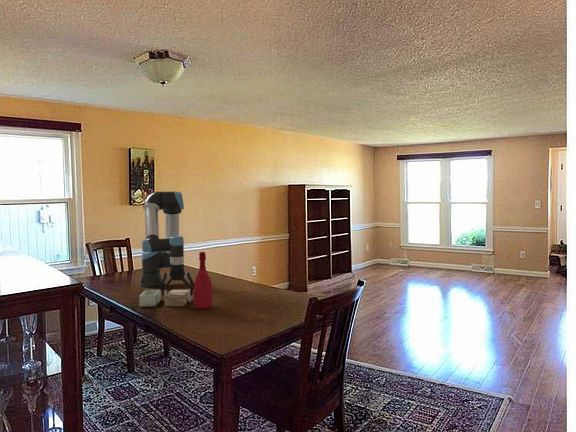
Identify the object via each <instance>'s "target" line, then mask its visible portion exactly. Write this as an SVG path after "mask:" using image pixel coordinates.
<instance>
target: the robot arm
mask: <svg viewBox="0 0 576 432" xmlns="http://www.w3.org/2000/svg"><path fill="white" fill-rule="evenodd" d="M142 206H143V207H142V210H143V212H144V219H145V220H144V224H145V228H144V229H145V235H144V237H145V239H142V240H141V244H142V245H141V246H142V247H141V250H142V254H141V275H140V279H139V286H140V287H144V288H145V287H146V288H152V287H158V290H161V297H163V302H164V303H165V295H166V294H168V292H167V289H166V288H167V287H168V286H169V285H170V284H171V283H172V281H174V282H177V281H179V282H180V281H182V282H183V283H184V284H185V285H186V287H187V288H188V290H189V301H188V302H189V303H190V302H191V301H192V296H194V282H195V281H194V280H193V277H192V276H191V272H190V271H188V272H185V253H184V250H185V249H184V245H185V244H184V243H185V241H184V237H183V236H182V235H180V214H182V211H183V210H184V209H185V207H184V206H185V205H184V198H183V194H182V192H181V191H154V192H152V193H150V194H149V195H148V196H147V197H146V198H145V199H144V202H143V205H142ZM161 210H162V213H163V214H165V238H160V230H159V229H160V228H159V211H161ZM161 269H169V272H167V271H166V272H165V273H164V276H162V274H161ZM185 276H186V277H187V279H188V280H189V281H188V280H187V279H186V278H185ZM168 277H170V279H169V280H168V282H166V279H167V278H168ZM165 282H166V283H165ZM189 282H190V283H189Z"/></svg>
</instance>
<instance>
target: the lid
mask: <svg viewBox="0 0 576 432" xmlns="http://www.w3.org/2000/svg"><path fill="white" fill-rule="evenodd" d="M188 302H189V289H171V290H170V291H169V292H167V294H166V295H165V302H164V307H184V306H186V304H187V303H188Z"/></svg>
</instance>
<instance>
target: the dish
mask: <svg viewBox="0 0 576 432" xmlns="http://www.w3.org/2000/svg"><path fill="white" fill-rule="evenodd" d="M138 297H139V298H138V299H139V307H157V305H158V304H159V303H160V301H161V300H162V290H160V289H145V290H144V291H142V292H141V293H140V295H139V296H138Z"/></svg>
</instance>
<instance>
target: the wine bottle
mask: <svg viewBox="0 0 576 432" xmlns="http://www.w3.org/2000/svg"><path fill="white" fill-rule="evenodd" d="M198 255H199V257H198V260H199V269H198V272H197V274H196V277H195V279H194V281H193V282H194V289H193V306H194V308H195V309H197V310H207V309H210V308H212V306H213V283H212V281H211V278H210V276H209V274H208V272H207V268H206V260H207V256H206V252H204V251H200V252H199V254H198Z"/></svg>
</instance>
